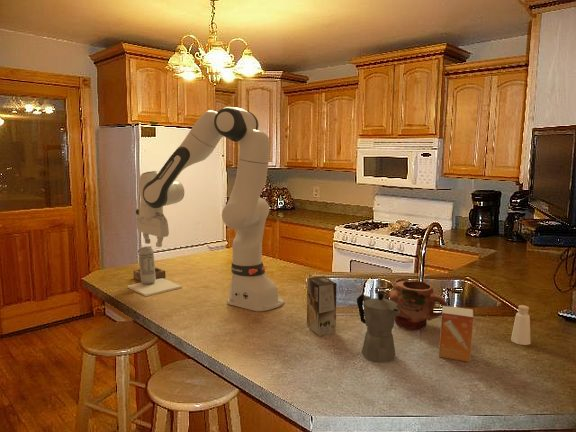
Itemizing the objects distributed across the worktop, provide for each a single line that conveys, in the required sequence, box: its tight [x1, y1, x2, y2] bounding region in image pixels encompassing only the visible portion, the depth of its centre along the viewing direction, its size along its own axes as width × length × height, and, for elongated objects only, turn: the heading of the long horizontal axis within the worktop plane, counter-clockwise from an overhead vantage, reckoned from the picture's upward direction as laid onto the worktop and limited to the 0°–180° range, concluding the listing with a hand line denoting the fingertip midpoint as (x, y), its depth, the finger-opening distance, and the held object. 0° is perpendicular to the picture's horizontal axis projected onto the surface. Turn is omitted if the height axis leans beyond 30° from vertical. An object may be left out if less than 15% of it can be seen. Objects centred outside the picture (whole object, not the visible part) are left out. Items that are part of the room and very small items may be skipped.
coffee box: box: [306, 275, 337, 337], centre depth 138 cm, size 9×6×16 cm
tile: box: [127, 278, 183, 297], centre depth 181 cm, size 16×16×1 cm
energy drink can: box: [138, 245, 156, 284], centre depth 184 cm, size 6×6×15 cm
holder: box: [132, 266, 167, 282], centre depth 194 cm, size 10×10×4 cm
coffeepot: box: [356, 292, 400, 363], centre depth 121 cm, size 15×9×18 cm, turn 35°
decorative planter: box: [388, 280, 448, 331], centre depth 141 cm, size 20×12×14 cm, turn 52°
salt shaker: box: [510, 304, 531, 346], centre depth 130 cm, size 5×5×11 cm
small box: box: [438, 305, 474, 363], centre depth 121 cm, size 8×6×13 cm
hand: (153, 245), depth 178 cm, fingers open, 8 cm apart
